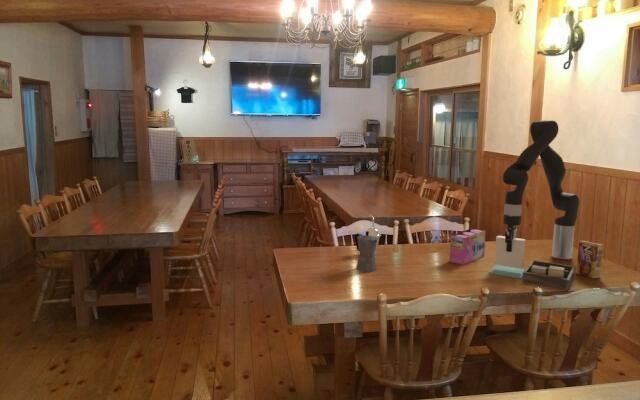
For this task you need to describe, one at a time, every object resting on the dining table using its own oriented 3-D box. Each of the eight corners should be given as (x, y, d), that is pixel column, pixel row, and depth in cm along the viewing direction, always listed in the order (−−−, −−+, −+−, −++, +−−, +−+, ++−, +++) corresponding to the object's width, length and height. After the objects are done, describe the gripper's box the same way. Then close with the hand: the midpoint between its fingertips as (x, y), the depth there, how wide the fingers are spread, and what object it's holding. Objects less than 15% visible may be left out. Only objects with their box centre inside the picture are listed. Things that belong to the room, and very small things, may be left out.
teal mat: (496, 265, 233) (496, 264, 233) (527, 271, 226) (527, 269, 226) (488, 273, 222) (488, 272, 222) (521, 279, 214) (521, 277, 214)
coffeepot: (383, 271, 224) (384, 233, 221) (367, 274, 219) (368, 235, 216) (362, 262, 236) (363, 226, 233) (346, 265, 231) (347, 228, 228)
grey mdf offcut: (532, 278, 216) (533, 265, 215) (545, 280, 213) (547, 267, 212) (530, 280, 213) (531, 267, 212) (544, 283, 210) (545, 269, 209)
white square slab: (496, 262, 228) (498, 235, 226) (523, 267, 222) (525, 239, 219) (494, 264, 225) (496, 237, 223) (521, 268, 219) (523, 240, 217)
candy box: (600, 277, 218) (603, 244, 215) (594, 279, 215) (598, 245, 213) (581, 272, 225) (584, 240, 223) (575, 273, 223) (578, 241, 221)
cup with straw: (362, 255, 250) (363, 216, 247) (365, 250, 258) (366, 213, 255) (378, 256, 247) (380, 218, 244) (381, 251, 256) (383, 214, 253)
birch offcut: (548, 281, 212) (550, 265, 211) (563, 283, 209) (564, 267, 208) (547, 283, 209) (548, 267, 208) (561, 286, 206) (563, 270, 205)
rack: (530, 270, 227) (531, 259, 227) (573, 277, 218) (574, 266, 217) (522, 281, 212) (523, 270, 211) (568, 289, 202) (569, 277, 201)
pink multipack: (471, 252, 257) (473, 227, 255) (486, 255, 252) (487, 229, 249) (448, 261, 240) (450, 234, 238) (463, 265, 234) (465, 237, 232)
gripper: (507, 210, 227) (504, 246, 230) (500, 215, 216) (497, 252, 218) (524, 212, 223) (521, 248, 226) (518, 217, 212) (515, 255, 214)
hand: (509, 250), depth 222 cm, fingers closed on white square slab, 3 cm apart
